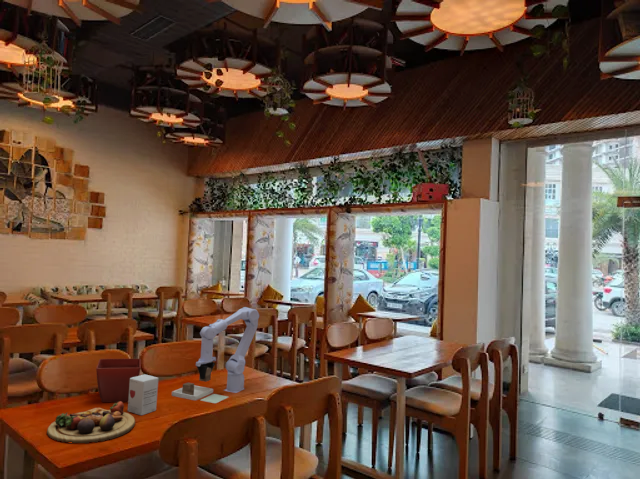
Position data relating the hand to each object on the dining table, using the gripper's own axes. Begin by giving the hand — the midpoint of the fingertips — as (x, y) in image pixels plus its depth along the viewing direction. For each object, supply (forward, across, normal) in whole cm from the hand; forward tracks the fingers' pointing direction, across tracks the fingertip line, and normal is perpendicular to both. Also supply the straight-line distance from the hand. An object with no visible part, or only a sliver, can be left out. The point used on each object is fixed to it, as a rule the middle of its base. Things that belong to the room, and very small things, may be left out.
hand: (205, 377), depth 245 cm
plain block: (+8, +6, -5) cm, 12 cm away
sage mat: (+9, +2, +8) cm, 12 cm away
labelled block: (+1, 0, 0) cm, 1 cm away
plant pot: (+9, +25, -32) cm, 42 cm away
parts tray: (+9, +2, -5) cm, 11 cm away
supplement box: (+9, +33, -10) cm, 36 cm away
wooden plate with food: (+10, +58, -13) cm, 60 cm away
